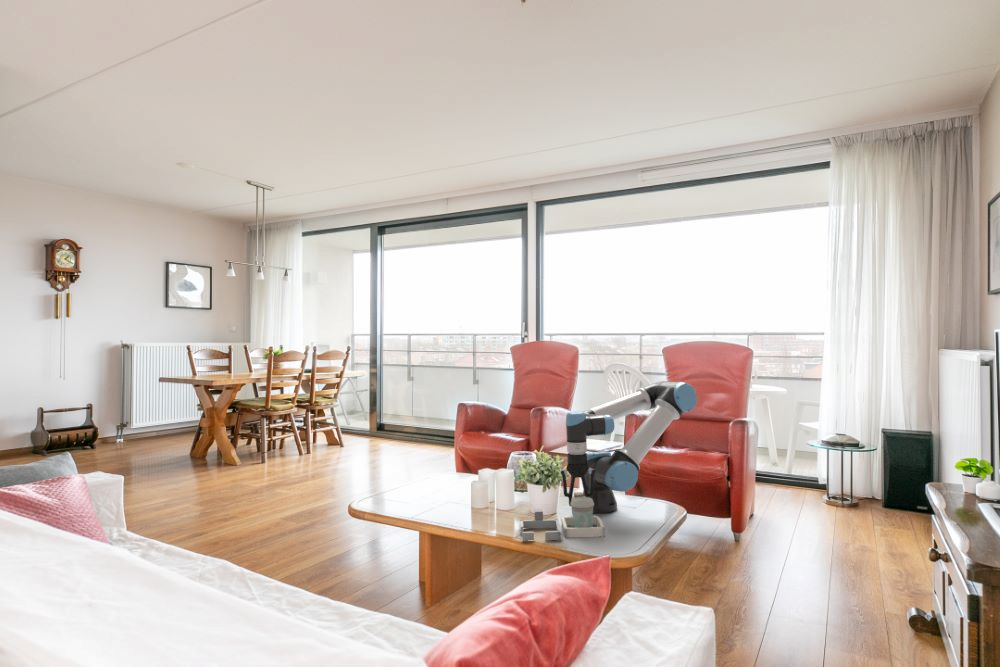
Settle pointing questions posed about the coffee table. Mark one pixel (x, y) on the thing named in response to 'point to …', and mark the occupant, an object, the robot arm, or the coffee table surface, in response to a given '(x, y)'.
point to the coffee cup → (582, 511)
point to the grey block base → (540, 524)
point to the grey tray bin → (584, 530)
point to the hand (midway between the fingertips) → (579, 514)
